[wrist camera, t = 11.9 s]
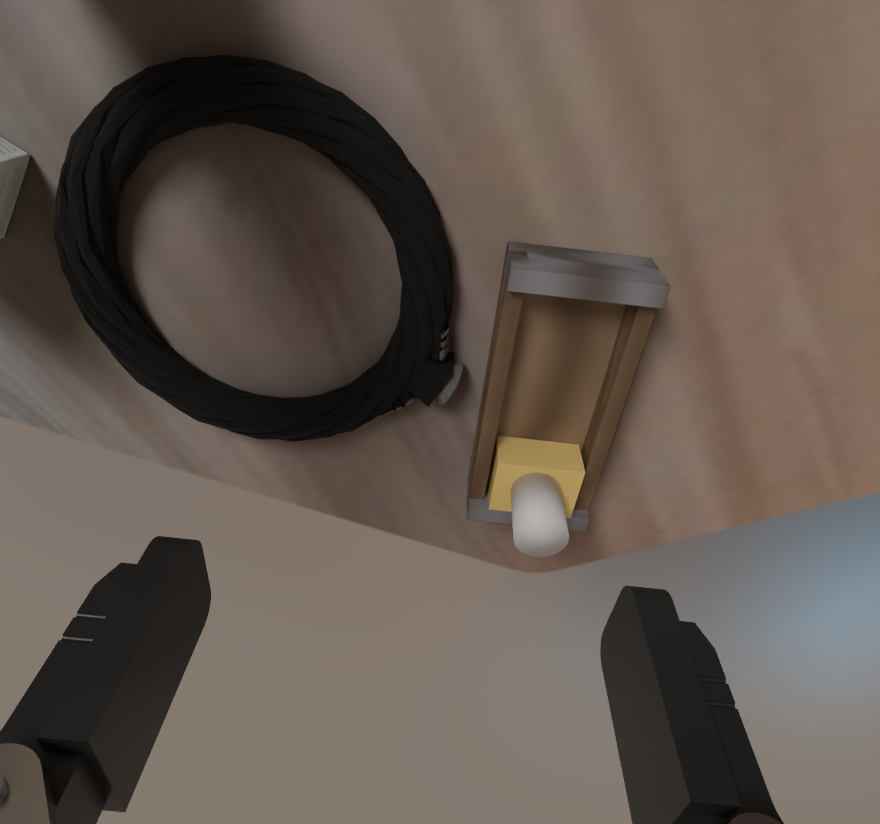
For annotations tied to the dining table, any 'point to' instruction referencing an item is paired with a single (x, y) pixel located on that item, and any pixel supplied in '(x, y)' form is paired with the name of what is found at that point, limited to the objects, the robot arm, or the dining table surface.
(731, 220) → the dining table surface
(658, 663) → the robot arm
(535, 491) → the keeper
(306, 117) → the cable lock
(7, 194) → the supplement box
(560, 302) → the wooden tray
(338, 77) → the dining table surface
